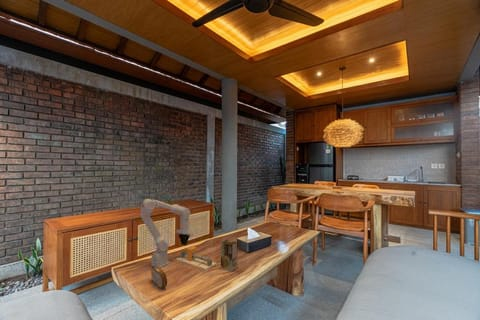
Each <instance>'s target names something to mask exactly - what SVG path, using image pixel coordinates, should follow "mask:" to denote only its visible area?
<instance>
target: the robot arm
mask: <svg viewBox="0 0 480 320" xmlns="http://www.w3.org/2000/svg"><path fill="white" fill-rule="evenodd" d="M140 207H141V208H140V218H141V219H142V221H143V223H144V224H145V226H146V228H147V230H148V231H149V233H150V234H151V236H152V238H153V241H154V243H155V246H156V249H155V251H153V253H152V254H151V263H150V266H152V267H153V268H154V267H156V266H158V267H159V268H160V269H161V268H162V267H165V266H167V265H169V264H170V263H171V262H170V261H169V260H168V253H169V252H168V249H169V247H170V244H169V242H168V241H167V240H165V238H163V236H162V234H161V232H160V231H159V229H158V228H157V226H156V224H155V222H154V220H153V219H152V217H151V214H152V212H153V211H154V210H155V209H158V208H162V209H166V210H169V211H170V213H172V214H175V215H179V216H180V221H179V222H180V225H179V226H180V227H179V228H180V229H176V231H175V233H176V234H178V238H179V240H180V243H181V246H187V245H188V241H189V238H190V237H193V236H194V233H193V232H191V231H190V229H189V227H190V215H191V210H190V209H189V208H187V207H185V206H184V205H183V206H181V205H179V204H178V203H175V204H172V205H171V204H169V203H167V202H163V201H160V200H157V199H151V198H144V199H143V201H142V203H141V205H140Z"/></svg>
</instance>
